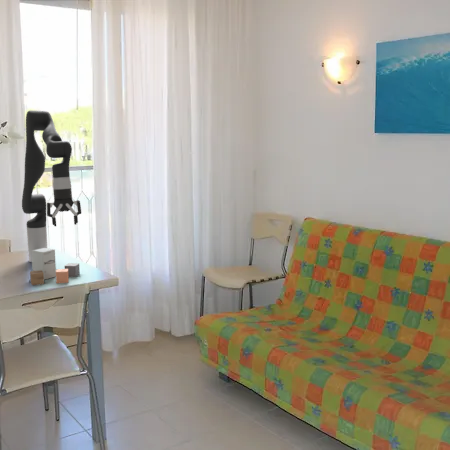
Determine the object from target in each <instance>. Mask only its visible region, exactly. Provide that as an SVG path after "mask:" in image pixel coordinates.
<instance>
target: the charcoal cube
mask: <svg viewBox="0 0 450 450" xmlns="http://www.w3.org/2000/svg"><path fill="white" fill-rule="evenodd" d="M64 269H68V277H69V278H70V277H71V278H72V277H73V278H76V277H78V276H80V263H77V262H76V263H74V262H73V263H72V262H71V263H70V262H69V263H67V264H64Z"/></svg>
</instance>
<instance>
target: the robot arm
mask: <svg viewBox="0 0 450 450" xmlns="http://www.w3.org/2000/svg"><path fill="white" fill-rule="evenodd" d="M36 131H37V132H38V131H39V132H41V131H42V134H41V135H42V141H43V142H44V144H45V147H46V149H45V150H46V154H47V156H48V157H49V158H51V159H62V160H61V162H58V163H55V164H52V167H51V168H52V169H51V171H52V172H51V173H52V188H53V200H54V201H53V202H47V200H46V197H45V195H44V194H42V193H36V194H33V191H34V189H35V186H36V184H38V182H39V181H40V179H41V177H42V176H43V175H44V173H45V169H46V156H45V153H44V152H43V150H42V149H41V147H40V146H39V143H38V141H37V139H36V137H35V132H36ZM72 150H73V147H72V144H71V143H70V142H69V141H68V140H67V141H66V140H62V137H61V136H60V134H59V132H58V131H57V129H56V126H55V123H54V120H53V116H52V115H51V113H50V112H49V111H46V110H31V109H30V110H28V111H27V112H26V116H25V154H24V155H25V156H24V157H25V158H24V178H23V179H24V181H23V189H22V190H23V191H22V198H21V208H22V209H21V210H22V211H23V213H24V214H26V215H27V214H28V215H30V214H36V215H35V216H34V217H33V218H31V219H29V220H27V221H26V235H27V237H26V238H27V253H28V255H27V256H28V262H30V263H32V251H33V250H37V249H42V248H48V236H47V235H48V234H47V217H49V218H51V221H52V223H51V224H52V225H53V227H57V219H56V216H57V215H58V213H60V212H61V213H62V212H69V211H70V212H71V213H72V214H73V225H74V226H75V225H77V224H78V222H79V221H78V220H79V219H78V218H79V217H78V216H79V215H81V214H82V207H81V206H82V205H81V201H80V200H78V199H77V200H73V193H72V192H73V191H72V181H71V178H70V177H71V176H70V162H71V157H72ZM74 205H75V206H76V209H77V211H75V210H74V209H73V206H74ZM53 206H54V207H55V209H54V211H53V213H51V209H52V208H53Z"/></svg>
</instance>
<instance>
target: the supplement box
mask: <svg viewBox="0 0 450 450" xmlns="http://www.w3.org/2000/svg"><path fill="white" fill-rule="evenodd" d="M31 265H32V266H31V268H32V269H31V271H40V270H42V271H43V275H44V281H45V280H48V279H52V278H56V267H57V263H56V249H54V248H48V247H47V248H42V249H37V250H33V251H32V262H31Z"/></svg>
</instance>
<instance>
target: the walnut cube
mask: <svg viewBox="0 0 450 450" xmlns="http://www.w3.org/2000/svg"><path fill="white" fill-rule="evenodd" d="M29 278H30V284H31V286H38V285H39V284H40V285H44V284H45V280H44V275H43V271H42V270H40V271H33V270H31V271H29Z"/></svg>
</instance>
